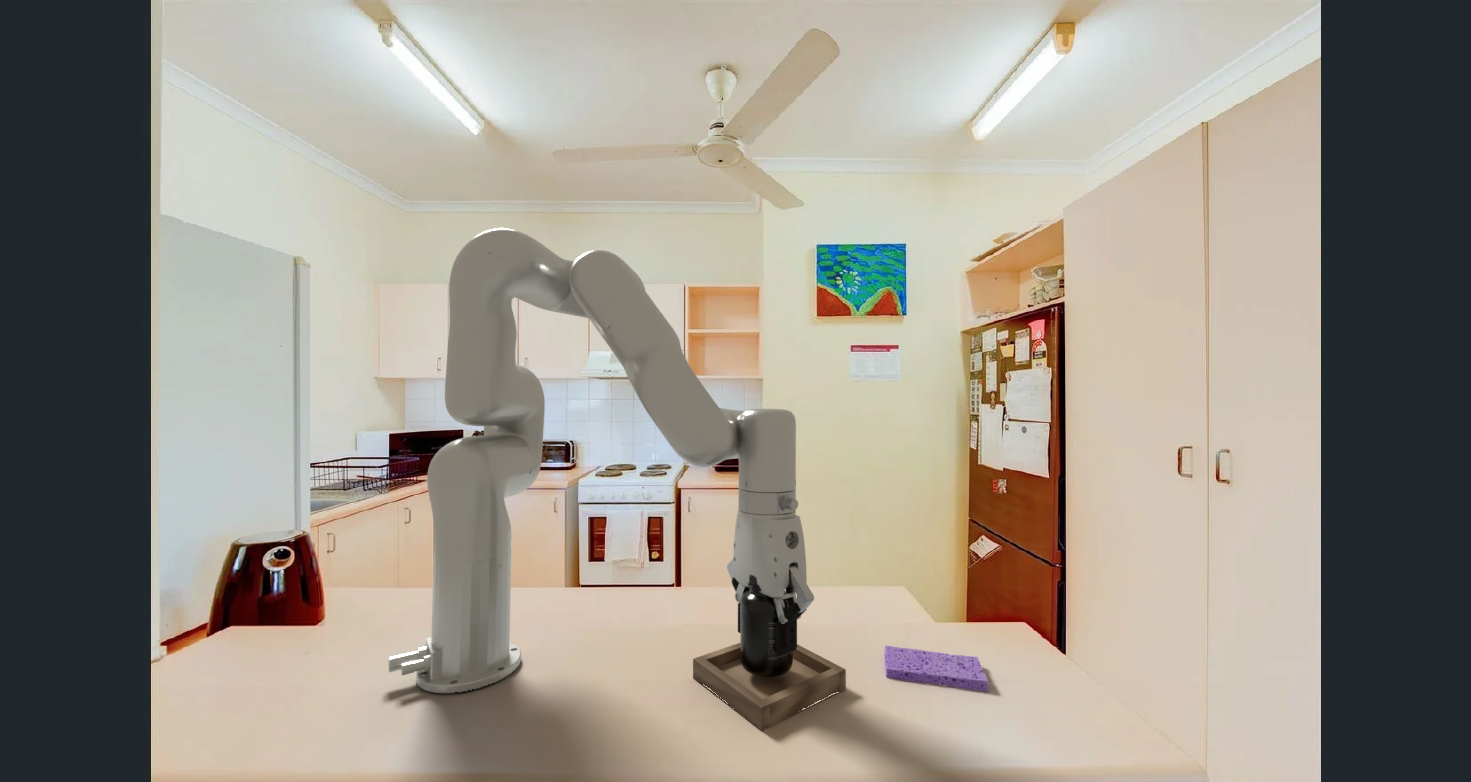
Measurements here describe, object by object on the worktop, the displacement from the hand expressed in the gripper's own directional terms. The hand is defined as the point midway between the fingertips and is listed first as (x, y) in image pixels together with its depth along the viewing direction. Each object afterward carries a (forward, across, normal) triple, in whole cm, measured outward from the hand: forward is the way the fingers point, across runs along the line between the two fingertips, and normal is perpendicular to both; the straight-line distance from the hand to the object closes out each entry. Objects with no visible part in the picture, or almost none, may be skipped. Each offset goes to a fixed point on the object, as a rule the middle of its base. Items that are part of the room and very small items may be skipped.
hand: (766, 639), depth 66 cm
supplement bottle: (+3, 0, 0) cm, 3 cm away
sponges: (+6, -11, -20) cm, 24 cm away
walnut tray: (+6, 0, 0) cm, 6 cm away
